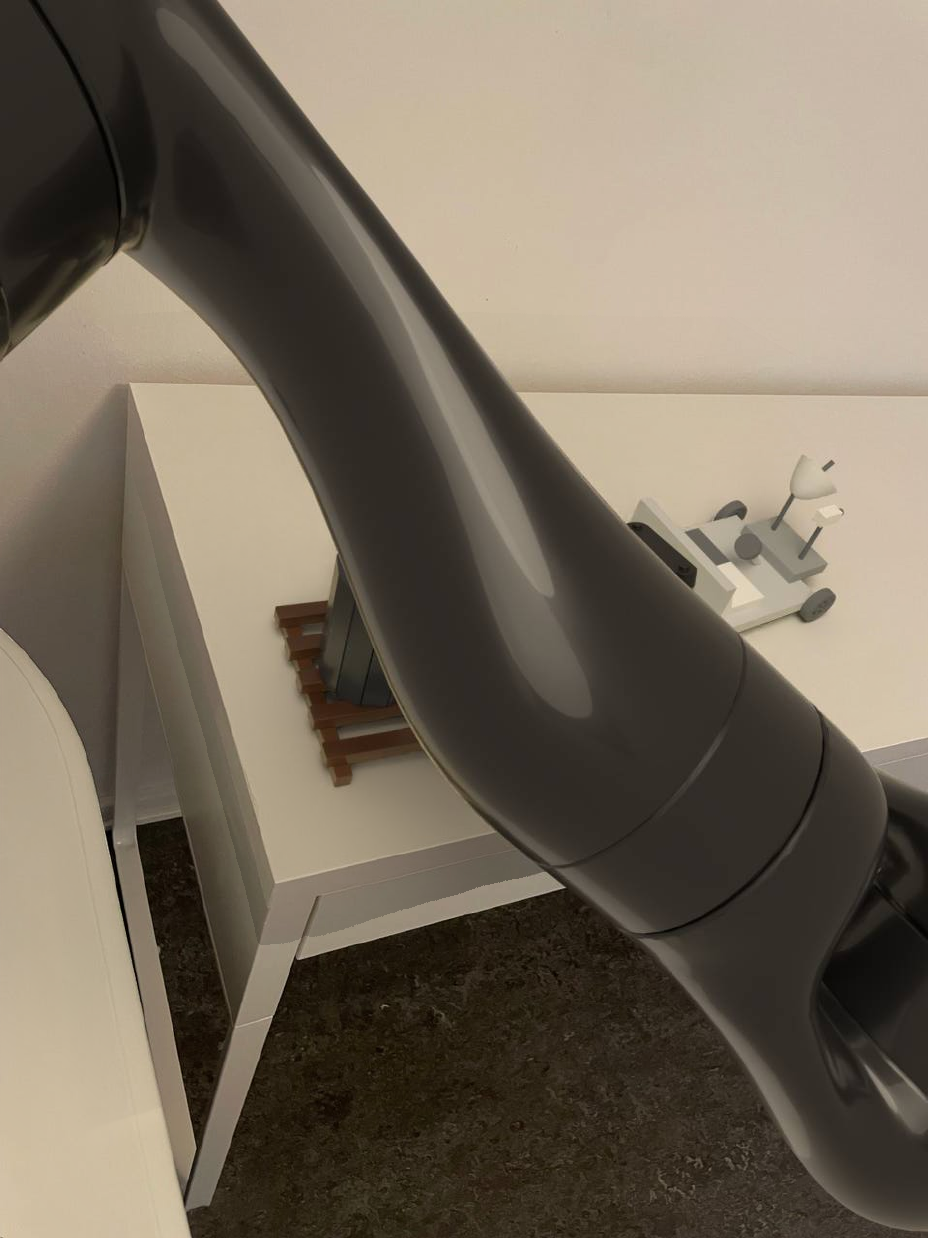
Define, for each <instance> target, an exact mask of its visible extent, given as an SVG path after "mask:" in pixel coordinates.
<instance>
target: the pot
mask: <svg viewBox="0 0 928 1238" xmlns="http://www.w3.org/2000/svg"><path fill="white" fill-rule="evenodd" d="M327 600H328V605H327V610H326V615H325V621H324V623H323V627H322V631H321V633H322V637H321V642H320V648H319V653H318V657H317V664H318V665H317V666H318V668H319V676H320V678H321V679H322V681H323V682H324V683H325V684H326V686H327V687H328V688H329V689H330V690H329V691H331V693H332V694H333V695H334V696H335V697H337V698H339V699H341V700H342V701H344V700H345V701H348V702H350V703H352V704H354V705H357V706H360V705H361V707H386V705H387V706H390V705H392V704H394V703H396V702H397V701H396V699H395V696H394V694H393V692H392V690H391V688H390V686H389V684H388V682H387V679H386V677H385V674H384V672H383V669H382V667H381V664H380V662H379V659H378V657H377V654H376V652H375V649H374V647H373V644H372V642H371V639H370V637H369V635H368V632H367V630H366V627H365V625H364V622H363V620H362V617H361V615H360V612H359V609H358V606H357V604H356V601H355V598H354V596H353V593H352V590H351V587H350V585H349V582H348V579H347V576H346V574H345V571H344V568H343V566H342V563H341V560H340V557H339V555H338V553H337V554H336V557H335V561H334V567H333V573H332V577H331V583H330V589H329V594H328V599H327Z"/></svg>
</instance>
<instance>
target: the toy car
mask: <svg viewBox="0 0 928 1238" xmlns="http://www.w3.org/2000/svg"><path fill="white" fill-rule="evenodd" d="M835 464H836V463H835V461H834V460H833V459H831V460H829V461H828V462H827V463H826V464H824V465H823V466H822V467H820V466H819V465H818V464H817V463H816V462H815V460H813V459H811V457H809V456H808V455H806V454H801V456H800V458H799V459H798V461H797V463H796V465H795V466H794V470H793V472H792V475H791V477H790V483H789V492H790V495H789V496H788V498H787V500H786V502H785V503H784V505H783V507H782V509H781V510H780V512H779V514H778V515H775V516H771V517H768V518H765V519H761V520H758V521H753V522H750V523H747V524H746V523H745V522H744V520H745V518H746V516H747V513H748V507H747V506H746V505H745V504H744V503H743V502H742V501H741V500H736V499H735V500H732V501H730V502H728V503H727V504H725V505H724V506H722V507H721V508H720V510H719V511H717V513H716V515H715V516H714V518H713V521H709V522H706V523H702V524H699V525H695V526H692V527H688V528H685V529H682V528H681V527H680V526H679V525H678V524H677V523H676V521H674V520H673V519H672V518H671V516H670V515H669V514H668V513H667V512H666V511H665V510H664V509H663V508H662V507H661V506H660V505H659V504H658V503H657V502H656V500H655V499H654V498H652V496H651V495H650V496H647V497H642V498H640V499H639V501H638V503H637V505H636V507H635V510H634V512H633V514H632V516H631V519H630V521H629V522H641V523H644V524H647V525H648V526H649V527H650V528H652V529H653V530H654V531H655V532H656V533H657V534H658V535H660V536H661V537H662V538H663V539H664V540H665V541H667V542H668V543H669V544H670V545H671V546H672V547H673V548H675V549H676V550H677V551H678V552H679V553H680V554H682V555H683V556H684V557H685V558H686V559H687V560H688V561H690V562H691V563H692V564H693V565H694V566H695V567H696V568H697V576H696V583H695V590H694V592H695V593H696V594H697V595H698V596H700V597H701V598H702V599H703V600H704V601H705V602H706V603H707V604H708V605H709V606H710V607H711V608H712V609H714V610H715V611H716V612H717V613H718V614H719V615H720V616H721V617H722V618H723V619H724V620H725V621H726V622H727V623H729V624H730V625H731V626H732V627H733V629H735V630H736V631H737V632H738V633H740V632H743V631H746V630H749V629H752V628H755V627H757V626H761V625H763V624H765V623H768V622H772V621H773V620H777V619H779V618H782V617H785V616H788V615H790V614H793V613H796V612H798V613H799V616H800V617H801V618H802V619H803V620H804V621H805V622H807V623H808V622H810V623H811V622H813V621H815V620H817V619H819V618H821V617H823V615H824V614H826V613H827V612H828V611H829V610H830V609H831V608H832V607H833V605H834V604H835V602H836V599H837V595H836V594H835V592H833V591H832V589H830V588H828V587H823V588H820V589H819V590H817V591H816V592H814V591H813V590H812V589H811V588H810V587H809V586H808V585H807V584H806V583H805V582H804V581H803V580H804V579H808V578H811V577H813V576H817V575H819V574H822V573H824V572H825V570H826V568H827V567H828V565H829V562H827V561H826V560H825V559H824V558H823V556H821V554H819V553H818V552H817V551H816V550H815V549H814V548H813V547H812V546H813V544H814V543H815V541H816V540H817V538H818V536H819V535H820V533H822V532H821V531H822V530H823V528H825V527H827V526H830V525H834V524H837V523H838V522H839V521H840V519H841V517H842V516H844V514H845V511H844V509H843V508H841V507H839V508H838V506H837V505H836V504H831V505H828V506H824V507H822V508H817V509H816V510H815V512H814V513H813V515H812V517H811V518H810V520H811V521H812V522H813V523H814V524H815V525H816V528H815V530H814V531H813V533H812V534H811V536H810V538H809V539H808V541H806V540H805V539H804V538H803V537H802V536H800V535H799V533H797V532H796V531H795V530H794V528H792V527H791V526H790V525H789V524H788V523H787V522H786V521H785V520H784V519H783V518H784V517H785V516H786V513H787V511H788V510H789V508H790V507H791V505H792V504H793V501H794V500H795V499H797V500H801V501H810V500H816V499H820V498H821V499H822V498H824V497H828V496H831V495H833V494H837V492H838V490H837V488H836V485H835V484H834V482H833V481H832V480H831V478H830V477H829V476H828V475H827V473H826V472H827V471H828V470H829V469H830V468H831V467H833V466H835Z"/></svg>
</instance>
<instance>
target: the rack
mask: <svg viewBox="0 0 928 1238" xmlns="http://www.w3.org/2000/svg"><path fill="white" fill-rule="evenodd" d="M327 605H328V599H326V600H317V601H309V602H300V603H291V604H282V605H275V606H274V614H273V617H274V620H275V623H276V626H277V628H278V629H279V630H281V632H282V636H283V639H284V647H283V648H284V651H285V654H286V656H287V659H288V662H292V666H293V668H294V672H295V674H296V677H295V683H296V686H297V690H298V692H299V695H300V696H302V695H303V697H304V701H305V704H306V706H307V710H308V711H307V719H308V722H309V724H310V727H311V730H312V731H315V733H316V736H317V739H318V742H319V745H320V748H319V754H320V758H321V761H322V764H323V767H324V768H325V769H328V771H329V774H330V775H329V776H330V778H331V781H332V783H333V787H335V788H337V787H342V786H348V785H351V783H352V779H353V773H352V770H351V768H350V767H351V766H350V764H355V763H360V762H367V761H372V760H377V759H384V758H388V757H394V756H399V755H405V754H410V753H415V752H421V751H424V749H423V748H422V746H421V745H420V743H419V741H418V740H417V738H416V736H415V734H414V733H413V731H412V729H411V727H410V726H409V727H405V728H399V729H393V730H387V731H382V732H376V733H375V732H374V733H370V734H365V735H364V734H363V735H359V736H358V735H357V736H351V737H346V738H342V739H341V738H340V736H339V732H338V730H337V728H336V727H341V726H342V727H343V726H347V725H353V724H360V723H366V722H371V721H377V720H383V719H389V718H395V717H401V716H402V717H403V716H404V715H403V713H402V711H401V709H400V707H399V705H398V703H397V702H396V703H394V704H392V705H390V706H387V705H386V707H361V705H360V706H357V705H354V704H352V703H350V702H348V701H345V700H339V701H333V702H327V700H326V695H325V693H324V692H328V691H331V690H330V689H329V688H328V687H327V686H326V684H325V683H324V682H323V681H322V679H321V678H320V676H319V667H315V665H314V662H313V660H312V659H315V658H318V653H319V648H320V642H321V637H322V632H318V633H309V634H303V631H302V628H301V627H303V626H311V625H319V624H324V621H325V615H326V610H327Z"/></svg>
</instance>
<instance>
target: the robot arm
mask: <svg viewBox="0 0 928 1238" xmlns="http://www.w3.org/2000/svg"><path fill="white" fill-rule="evenodd" d="M121 252H122V253H123V254H125V255H126V256H128V257H129V258H131V259H132V260H134V261H135V262H136V263H137V264H138V265H140V266H141V267H142V268H143V269H145V270H146V271H147V272H148V273H150V274H151V275H152V276H153V277H154V278H156V279H157V280H158V281H160V283H162V284H163V285H164V286H165V287H166V288H167V289H168V290H170V291H171V292H172V293H173V294H174V295H175V296H176V297H177V298H178V299H180V300H181V301H182V302H183V304H185V306H187V307H189V309H190V310H192V311H193V312H194V313H195V314H196V315H197V316H198V318H200V319H201V321H203V322H204V323H205V324H206V326H208V328H210V330H212V332H214V334H215V335H216V336H217V337H218V338H219V340H220V341H221V342H222V343H223V344H224V345H225V347H226V348H227V349H228V350H229V351H230V352H231V353H232V355H233V356H234V357H235V358H236V360H237V361H238V363H239V364H240V365H241V366H242V368H243V369H244V371H245V373H246V374H247V375H248V376H249V378H250V379H251V381H252V382H253V384H254V385H255V386H256V387H257V389H258V390H259V392H260V393H261V395H262V397H263V399H264V400H265V402H266V403H267V404H268V407H269V408H270V409H271V411H272V413H273V414H274V416H275V417H276V419H277V421H278V422H279V425H280V426H281V428H282V430H283V432H284V434H285V436H286V438H287V440H288V442H289V444H290V447H291V449H292V451H293V453H294V455H295V457H296V459H297V461H298V463H299V465H300V468H301V469H302V471H303V473H304V476H305V478H306V479H307V481H308V484H309V486H310V488H311V491H312V492H313V495H314V497H315V499H316V502H317V505H318V507H319V509H320V512H321V516H322V517H323V519H324V522H325V524H326V527H327V529H328V532H329V534H330V537H331V539H332V542H333V545H334V547H335V550H336V552H337V554H338V555H339V557H340V560H341V563H342V566H343V568H344V571H345V574H346V576H347V579H348V582H349V585H350V587H351V590H352V593H353V596H354V598H355V601H356V604H357V606H358V609H359V612H360V615H361V617H362V620H363V622H364V625H365V627H366V630H367V632H368V635H369V637H370V639H371V642H372V644H373V647H374V649H375V652H376V654H377V657H378V659H379V662H380V664H381V667H382V669H383V672H384V674H385V677H386V679H387V682H388V684H389V686H390V688H391V690H392V692H393V694H394V696H395V699H396V701H397V703H398V705H399V707H400V709H401V711H402V713H403V715H402V716H403V717H404V718H405V721H406V722H407V724H408V726H409V728H410V727H411V729H412V731H413V733H414V734H415V736H416V738H417V740H418V741H419V743H420V745H421V746H422V748H423V749H424V750H423V751H424V752H425V754H426V755H427V756H428V758H429V760H430V761H431V762H432V763H433V765H434V766H435V768H436V769H437V771H438V772H439V773H440V775H441V776H442V778H443V779H444V781H446V782H447V783H448V784H449V786H450V787H451V788H452V789H453V791H454V792H455V793H456V794H457V795H458V796H459V797H460V798H461V800H462V801H463V802H464V803H465V804H466V806H468V807H469V808H470V809H471V810H472V811H473V812H474V813H475V814H476V815H477V816H479V817H480V818H481V820H482V821H484V822H485V823H486V824H487V825H488V826H489V827H491V829H492V830H493V831H494V832H496V833H497V834H498V835H499V836H501V837H502V838H503V839H505V840H506V841H507V842H508V843H509V844H511V845H512V847H514V848H515V849H516V850H517V851H519V852H520V853H521V854H523V855H524V856H525V857H526V858H528V859H530V860H531V861H532V862H533V863H534V864H535V865H537V866H538V867H539V868H541V870H543V871H544V872H546V873H547V874H548V875H549V876H551V878H553V879H554V880H556V881H557V883H559V884H560V885H562V886H563V887H564V888H566V890H568V891H569V892H570V893H572V895H574V896H575V897H576V898H578V899H579V900H580V901H582V902H583V903H584V904H585V905H586V906H588V907H589V908H590V909H591V910H592V911H594V912H595V913H596V914H598V915H599V916H600V917H602V919H604V920H605V921H606V922H608V923H609V924H610V925H612V927H614V928H615V929H616V930H617V931H618V932H620V933H621V934H623V936H624V937H626V938H627V939H628V940H630V941H631V942H632V943H633V944H634V945H636V947H638V948H639V949H640V950H641V951H642V952H643V953H644V954H645V955H647V957H649V959H651V960H652V961H653V962H654V963H655V964H656V965H657V966H658V967H659V968H660V970H662V972H663V973H664V974H666V976H667V977H668V978H669V980H671V981H672V982H673V984H674V985H675V986H677V988H678V989H679V990H680V991H681V993H683V994H684V995H685V996H686V998H687V999H688V1000H689V1001H690V1002H691V1004H692V1005H693V1006H694V1007H695V1008H696V1010H697V1011H698V1013H699V1014H700V1015H701V1016H702V1017H703V1019H704V1020H705V1022H706V1023H707V1024H708V1025H709V1027H710V1028H711V1029H712V1031H713V1032H714V1033H715V1035H716V1036H717V1037H718V1039H719V1040H720V1041H721V1042H722V1044H723V1045H724V1047H725V1048H726V1050H727V1051H728V1053H729V1054H730V1056H731V1057H732V1059H733V1060H734V1062H735V1063H736V1065H737V1067H738V1068H739V1070H740V1071H741V1073H742V1075H743V1076H744V1078H745V1080H746V1082H747V1083H748V1085H749V1086H750V1088H751V1090H752V1091H753V1093H754V1094H755V1097H757V1099H758V1101H759V1102H760V1104H761V1105H762V1107H763V1109H764V1111H765V1112H766V1114H767V1115H768V1117H769V1119H770V1120H771V1122H772V1123H773V1125H774V1126H775V1128H776V1130H777V1131H778V1133H779V1134H780V1135H781V1138H782V1139H783V1141H785V1143H786V1144H787V1146H788V1147H789V1148H790V1150H791V1151H792V1153H793V1154H794V1155H795V1156H796V1157H797V1159H798V1160H799V1162H800V1163H801V1165H802V1166H803V1168H805V1170H806V1171H807V1172H808V1174H809V1175H810V1176H811V1178H813V1180H815V1181H816V1183H818V1185H820V1187H822V1189H823V1190H825V1191H826V1193H828V1194H829V1195H830V1196H831V1197H832V1198H833V1199H835V1200H836V1201H837V1202H839V1203H840V1205H842V1206H844V1207H845V1208H847V1209H848V1210H850V1211H851V1212H853V1213H855V1214H856V1215H857V1216H860V1217H862V1218H864V1219H866V1220H868V1221H870V1222H874V1223H877V1224H879V1225H883V1226H885V1227H888V1228H893V1229H898V1230H904V1231H909V1232H928V790H927V789H924V788H922V787H920V786H918V785H916V784H913V783H911V782H908V781H907V780H904V779H902V778H900V777H898V776H897V775H893V774H892V773H890V772H888V771H886V770H884V769H881V768H880V767H878V766H875V765H874V764H872V763H871V762H869V760H868V759H867V758H866V757H865V755H864V754H863V753H862V751H861V750H860V749H859V747H858V746H857V745H856V744H855V743H854V741H852V740H851V739H850V738H849V737H848V736H847V735H846V733H844V731H842V729H840V727H838V726H837V725H836V724H835V723H834V722H833V721H832V720H831V719H830V718H829V717H828V716H827V715H826V714H825V713H824V712H822V711H821V710H820V708H818V706H816V705H815V704H814V703H813V702H811V700H809V698H807V697H806V696H805V695H804V694H803V693H802V692H801V691H800V690H799V689H798V688H797V687H796V686H795V685H794V684H793V683H791V681H790V680H789V679H787V678H786V676H784V675H783V674H782V673H781V672H780V671H779V670H778V669H777V668H776V667H775V666H774V665H773V664H771V662H769V661H768V660H767V659H766V658H765V657H764V656H763V655H762V654H761V653H760V652H759V651H758V650H757V649H756V648H755V647H754V646H753V645H751V644H750V643H749V642H748V641H747V640H746V639H745V637H743V635H741V634H740V632H737V631H736V630H735V629H733V627H732V626H731V625H730V624H729V623H727V622H726V621H725V620H724V619H723V618H722V617H721V616H720V615H719V614H718V613H717V612H716V611H715V610H714V609H712V608H711V607H710V606H709V605H708V604H707V603H706V602H705V601H704V600H703V599H702V598H701V597H700V596H698V595H697V594H696V593H695V592H694V590H695V583H696V576H697V568H696V567H695V566H694V565H693V564H692V563H691V562H690V561H688V560H687V559H686V558H685V557H684V556H683V555H682V554H680V553H679V552H678V551H677V550H676V549H675V548H673V547H672V546H671V545H670V544H669V543H668V542H667V541H665V540H664V539H663V538H662V537H661V536H660V535H658V534H657V533H656V532H655V531H654V530H653V529H652V528H650V527H649V526H648V525H647V524H644V523H641V522H630V521H629V522H627V523H626V522H625V521H624V520H623V519H622V517H621V516H620V515H619V514H618V513H617V512H616V511H615V510H614V509H613V507H612V506H611V505H610V504H609V503H608V501H607V500H606V499H605V498H604V497H603V496H602V495H601V493H599V491H598V490H597V489H596V488H595V486H593V484H592V483H591V482H590V481H589V480H588V479H587V478H586V477H585V476H584V474H582V472H581V471H580V469H579V468H577V466H576V465H575V464H574V463H573V461H572V459H570V457H568V455H567V454H566V453H565V452H564V451H563V449H562V447H560V446H559V444H558V443H557V442H556V441H555V439H553V437H552V436H551V434H550V433H548V431H547V430H546V429H545V427H544V426H543V425H542V424H541V423H540V421H539V420H538V419H537V418H536V416H535V414H534V413H533V412H532V411H531V410H530V408H529V407H528V406H527V404H526V402H524V400H522V397H520V395H519V394H518V393H517V391H516V390H515V389H514V387H513V386H512V385H511V384H510V382H509V381H508V379H507V378H506V377H505V376H504V374H503V373H502V372H501V370H500V369H499V368H498V366H497V365H496V363H495V362H494V361H493V359H492V358H491V357H490V355H489V354H488V353H487V352H486V350H485V348H483V346H482V345H481V343H479V341H478V340H477V338H476V337H475V336H474V334H473V333H472V331H471V330H470V329H469V327H468V326H467V325H466V323H465V322H464V321H463V319H462V318H461V317H460V316H459V315H458V313H457V311H455V309H454V308H453V307H452V305H451V304H450V303H449V301H448V300H447V299H446V298H445V296H444V295H443V294H442V292H441V291H440V289H439V288H438V286H437V285H436V283H435V282H434V281H433V279H432V278H431V277H430V275H429V274H428V272H427V271H426V270H425V268H424V267H423V265H422V264H421V263H420V262H419V260H418V259H417V257H416V256H415V255H414V253H413V252H412V251H411V249H410V248H409V247H408V245H407V244H406V243H405V241H404V240H403V239H402V238H401V236H400V234H398V232H397V231H396V229H395V228H394V227H393V226H392V224H391V223H390V221H389V220H388V219H387V217H386V216H385V215H384V213H382V211H381V210H380V208H379V207H378V206H377V204H376V203H375V202H374V200H373V199H372V198H371V197H370V195H369V194H368V193H367V191H366V190H365V189H364V188H363V187H362V185H361V184H360V182H358V180H357V179H356V177H354V175H353V174H352V173H351V171H350V170H349V169H348V168H347V167H346V165H345V163H344V162H343V161H342V160H341V159H340V157H339V156H338V155H337V153H336V152H335V151H334V149H332V147H331V146H330V145H329V144H328V142H327V140H326V139H325V138H324V136H322V134H321V133H320V132H319V131H318V129H317V128H316V127H315V126H314V124H313V123H312V122H311V120H310V118H309V117H308V116H307V115H306V113H305V112H304V111H303V109H302V108H301V107H300V106H299V105H298V103H297V102H296V100H295V99H294V98H293V97H292V95H291V94H290V93H289V91H288V89H286V87H285V86H284V84H283V83H282V82H281V80H279V78H278V76H276V74H275V73H274V72H273V71H272V69H271V67H270V66H269V65H268V64H267V62H266V61H265V59H264V58H263V57H262V56H261V55H260V54H259V52H258V51H257V49H256V48H255V47H254V46H253V44H252V43H251V42H250V40H249V39H248V37H247V36H246V35H245V34H244V32H243V31H242V30H241V28H240V27H239V26H238V25H237V23H236V22H235V21H234V19H233V18H232V17H231V15H230V14H229V13H228V12H227V11H226V8H224V7H223V5H222V4H221V2H220V1H219V0H0V363H2V362H3V361H4V359H5V358H6V357H7V356H8V355H9V354H10V353H11V352H12V351H13V350H15V349H16V348H17V347H18V346H19V345H20V344H21V343H22V342H23V341H24V340H25V339H27V337H29V336H30V335H31V334H32V333H33V332H34V331H35V330H36V329H37V328H39V327H40V325H42V324H43V323H44V322H45V321H46V320H47V319H49V318H50V317H51V315H53V314H54V313H55V312H56V311H57V310H58V309H59V308H60V307H61V306H62V305H64V303H66V302H67V301H68V300H69V299H70V298H71V297H72V296H73V295H74V294H75V293H77V291H79V290H80V289H81V288H82V287H83V286H84V285H85V284H86V283H87V282H89V280H90V279H92V277H94V276H95V275H96V274H97V273H98V272H99V270H100V269H101V268H103V267H106V265H108V264H109V263H110V262H111V261H112V260H113V259H114V258H115V257H117V256H118V255H119V254H120V253H121ZM874 881H875V882H876V883H875V882H874Z"/></svg>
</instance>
